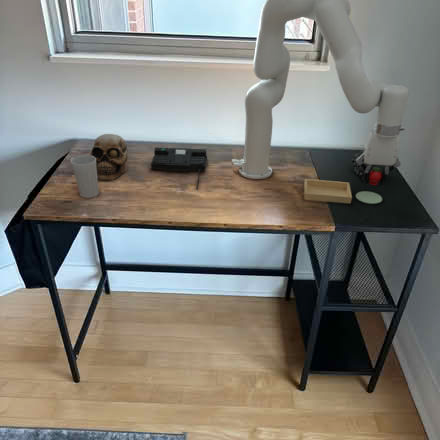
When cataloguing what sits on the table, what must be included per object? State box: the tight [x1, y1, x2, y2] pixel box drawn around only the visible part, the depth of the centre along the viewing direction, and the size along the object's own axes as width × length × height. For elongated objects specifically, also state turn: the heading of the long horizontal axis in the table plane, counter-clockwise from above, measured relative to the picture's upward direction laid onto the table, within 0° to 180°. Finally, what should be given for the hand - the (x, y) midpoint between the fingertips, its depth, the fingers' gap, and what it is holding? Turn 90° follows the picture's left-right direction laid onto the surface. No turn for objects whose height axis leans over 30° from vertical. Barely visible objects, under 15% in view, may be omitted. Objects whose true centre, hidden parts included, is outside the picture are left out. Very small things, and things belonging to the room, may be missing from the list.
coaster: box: [355, 190, 383, 204], centre depth 155 cm, size 9×9×1 cm
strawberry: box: [368, 166, 382, 186], centre depth 149 cm, size 4×4×5 cm
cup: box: [70, 154, 100, 199], centre depth 149 cm, size 8×8×12 cm
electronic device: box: [150, 147, 208, 190], centre depth 168 cm, size 21×30×5 cm
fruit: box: [351, 149, 376, 180], centre depth 167 cm, size 9×8×15 cm
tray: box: [303, 178, 353, 204], centre depth 155 cm, size 16×12×3 cm
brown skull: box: [90, 133, 129, 182], centre depth 166 cm, size 16×17×13 cm
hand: (373, 182), depth 151 cm, fingers closed on strawberry, 4 cm apart
